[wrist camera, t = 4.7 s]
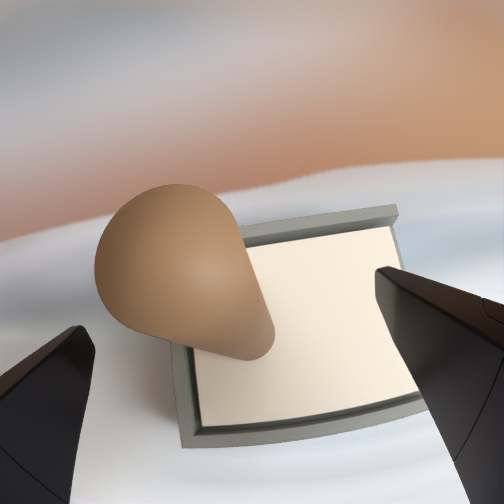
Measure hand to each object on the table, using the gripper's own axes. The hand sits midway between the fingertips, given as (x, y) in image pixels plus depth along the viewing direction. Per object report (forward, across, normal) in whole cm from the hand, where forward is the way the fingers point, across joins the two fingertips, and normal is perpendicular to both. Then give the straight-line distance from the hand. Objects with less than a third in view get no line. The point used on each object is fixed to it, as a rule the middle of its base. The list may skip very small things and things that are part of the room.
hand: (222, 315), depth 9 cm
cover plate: (+4, -3, +4) cm, 7 cm away
